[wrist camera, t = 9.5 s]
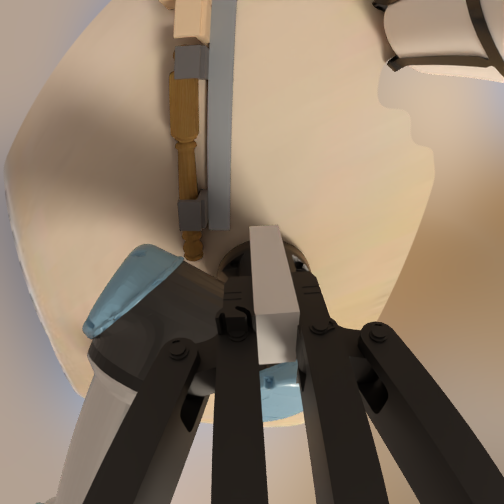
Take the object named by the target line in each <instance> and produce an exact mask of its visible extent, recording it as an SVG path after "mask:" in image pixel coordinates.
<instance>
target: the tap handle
mask: <svg viewBox="0 0 504 504" xmlns="http://www.w3.org/2000/svg"><path fill="white" fill-rule="evenodd" d="M181 46H189V45H181ZM173 58H174V60H175V51H174V53H173ZM169 96H170V127H171V136H172V137H174V138H175V140H177V141H178V142H177V143H176V145H175V148H176V149H177V150H178V170H179V198H180V200H197V198H198V188H197V177H196V166H195V153H194V148H195V147H196V146H197V144H196V142H195V141H194V139H196V138H197V137H196V136H198V134H199V108H198V79H197V78H192V79H174V71H173V72H171V73H170V75H169ZM182 232H183V234H182V238H183V239H184V240H186V242H185V243H184V246H183V250H184V252H185V254H184V257H185V258H186V260H189V261H197V260H200V259H201V258H202V257H203V252H202V249H203V245H202V243H201V242H200V240H199V239H200V238H201V236H202V233H201V231H182Z"/></svg>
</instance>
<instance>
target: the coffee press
mask: <svg viewBox="0 0 504 504" xmlns="http://www.w3.org/2000/svg"><path fill="white" fill-rule="evenodd" d="M372 4H373V6H374V7H375V8H377V9H379V10H382V11H384V12H385V15H384V29H385V33H386V36H387V39H388V41H389V43H390V45H391V47H392V49H393V50H394V52H395V53H396V54H397V55H396V56H394V57H393V58H392V59H390V60H389V61H388V63H387V65H388V66H389V67H390V68H391V69H392V70H393V71H394V72H396V71H398V70H399V69H401V68H403V67H405V66H410V67H411V68H413V69H415V70H417V71H419V72H422V73H426V74H434V75H448V76H459V77H468V78H476V79H484V80H490V81H496V82H502V83H504V0H374V2H373V3H372ZM387 5H388V6H387Z"/></svg>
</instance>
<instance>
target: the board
mask: <svg viewBox="0 0 504 504" xmlns="http://www.w3.org/2000/svg"><path fill="white" fill-rule="evenodd" d="M159 1H160V2H161V3H162V4H163V5H164V6H165V7H166V8H167V9H168V10H170V9H175V18H174V35H173V37H174V38H185V37H197V39H198V40H199V41H200V42H201V43H210V47H209V49H208V48H207V46H201V45H189V46H176V47H175V65H174V79H192V78H197V79H201V80H203V79H208V135H207V154H208V189H201V191H200V193H199V196H198V198H197V200H178V215H179V227H180V231H201V230H202V228H206V225H207V221H208V217H209V230H230V179H231V131H232V97H233V70H234V46H235V26H236V7H237V0H159ZM211 6H212V8H211Z"/></svg>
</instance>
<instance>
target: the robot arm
mask: <svg viewBox="0 0 504 504" xmlns="http://www.w3.org/2000/svg"><path fill="white" fill-rule="evenodd" d="M249 231H250V241H248V242H245V243H243V244H241V245H239V246H237V247H235V248H234V249H233V250H231V251H230V252H229V253H228V254H227V255H226V256H225V257H224V259H223V260H222V262H221V264H220V266H219V269H218V273H217V278H215V277H213V276H211V275H209V274H207V273H206V272H204V271H202V270H200V269H198V268H196V267H194V266H193V265H191V264H189V263H187V262H185V261H183V260H184V258H183V257H181V256H179V257H177V256H175V255H173V254H171V253H169V252H167V251H165V250H163V249H161V248H159V247H157V246H155V245H152V244H143V245H140V246H138V247H136V248H135V249H134V250H133V251H132V252H131V253H130V254H129V255H128V257H127V258H126V259H125V260H124V262H123V263H122V264H121V266H120V267H119V268H118V270H117V271H116V272H115V274H114V275H113V277H112V278H111V280H110V281H109V283H108V284H107V286H106V287H105V289H104V290H103V292H102V293H101V295H100V296H99V298H98V300H97V301H96V303H95V305H94V306H93V308H92V310H91V312H90V314H89V316H88V318H87V320H86V322H85V323H84V325H83V328H82V329H83V332H84V333H85V334H86V336H87V338H90V339H93V340H92V343H91V345H90V348H89V350H88V353H87V357H88V360H89V362H90V364H91V366H92V369H93V371H94V376H93V379H92V382H91V384H90V387H89V389H88V392H87V395H86V398H85V401H84V403H83V406H82V409H81V412H80V415H79V418H78V421H77V424H76V427H75V430H74V433H73V436H72V440H71V443H70V446H69V450H68V453H67V457H66V460H65V464H64V467H63V471H62V475H61V479H60V483H59V487H58V491H57V496H56V497H54V498H51V499H49V500H48V501H46V503H36V504H170V503H171V500H172V497H173V494H174V492H175V489H176V486H177V484H178V481H179V478H180V476H181V473H182V470H183V467H184V465H185V461H186V459H187V457H188V454H189V451H190V448H191V446H192V443H193V440H194V437H195V435H196V432H197V429H198V426H199V424H200V421H201V418H202V415H203V413H204V410H205V407H206V404H207V401H208V399H209V396H210V394H213V393H215V401H214V423H213V449H212V486H211V487H212V488H211V504H268V491H267V476H266V461H265V447H264V433H263V422H267V421H274V420H279V419H283V418H287V417H290V416H293V415H295V414H298V413H300V412H302V411H303V412H304V419H305V425H306V432H307V439H308V445H309V452H310V459H311V466H312V473H313V481H314V487H315V495H316V503H317V504H389V501H388V496H387V492H386V488H385V483H384V479H383V475H382V471H381V467H380V463H379V459H378V455H377V452H376V447H375V444H374V440H373V436H372V432H371V429H370V425H369V422H368V418H367V415H366V413H367V414H368V416H369V418H370V419H371V421H372V423H373V424H374V426H375V428H376V429H377V431H378V433H379V434H380V436H381V438H382V439H383V441H384V443H385V444H386V446H387V448H388V449H389V451H390V453H391V454H392V456H393V458H394V459H395V461H396V463H397V464H398V466H399V468H400V470H401V471H402V473H403V475H404V476H405V478H406V480H407V481H408V483H409V485H410V487H411V488H412V490H413V492H414V493H415V495H416V497H417V499H418V500H419V502H420V504H504V477H503V476H502V474H501V473H500V471H499V469H498V468H497V466H496V465H495V463H494V462H493V460H492V459H491V458H490V456H489V454H488V453H487V451H486V450H485V448H484V447H483V445H482V444H481V442H480V441H479V440H478V439H477V437H476V435H475V434H474V433H473V431H472V430H471V429H470V427H469V425H468V424H467V423H466V421H465V420H464V419H463V417H462V416H461V415H460V413H459V412H458V410H457V409H456V408H455V407H454V405H453V404H452V403H451V401H450V400H449V399H448V397H447V396H446V395H445V393H444V392H443V391H442V389H441V388H440V387H439V385H438V384H437V383H436V382H435V380H434V379H433V378H432V376H431V375H430V374H429V373H428V372H427V370H426V369H425V368H424V366H423V365H422V364H421V363H420V362H419V360H418V359H417V358H416V357H415V355H414V354H413V353H412V352H411V351H410V349H409V348H408V347H407V346H406V345H405V343H404V342H403V341H402V340H401V338H400V337H399V336H398V335H397V334H396V332H395V331H394V330H393V329H392V328H391V327H389V326H388V325H386V324H384V323H382V322H370V323H367V324H366V325H364V326H363V328H362V329H361V330H353V329H347V328H343V327H341V326H338V324H337V323H336V321H335V320H333V319H332V318H330V316H329V313H328V310H327V307H326V304H325V301H324V298H323V295H322V293H321V290H320V287H319V284H318V281H317V278H316V277H315V276H314V275H313V274H312V273H311V270H310V267H309V264H308V262H307V260H306V258H305V257H304V255H303V254H302V253H301V252H300V251H299V250H298V249H297V248H295V247H294V246H292V245H290V244H288V243H286V242H283V241H282V237H281V233H280V229H279V226H278V225H263V226H249Z"/></svg>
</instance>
